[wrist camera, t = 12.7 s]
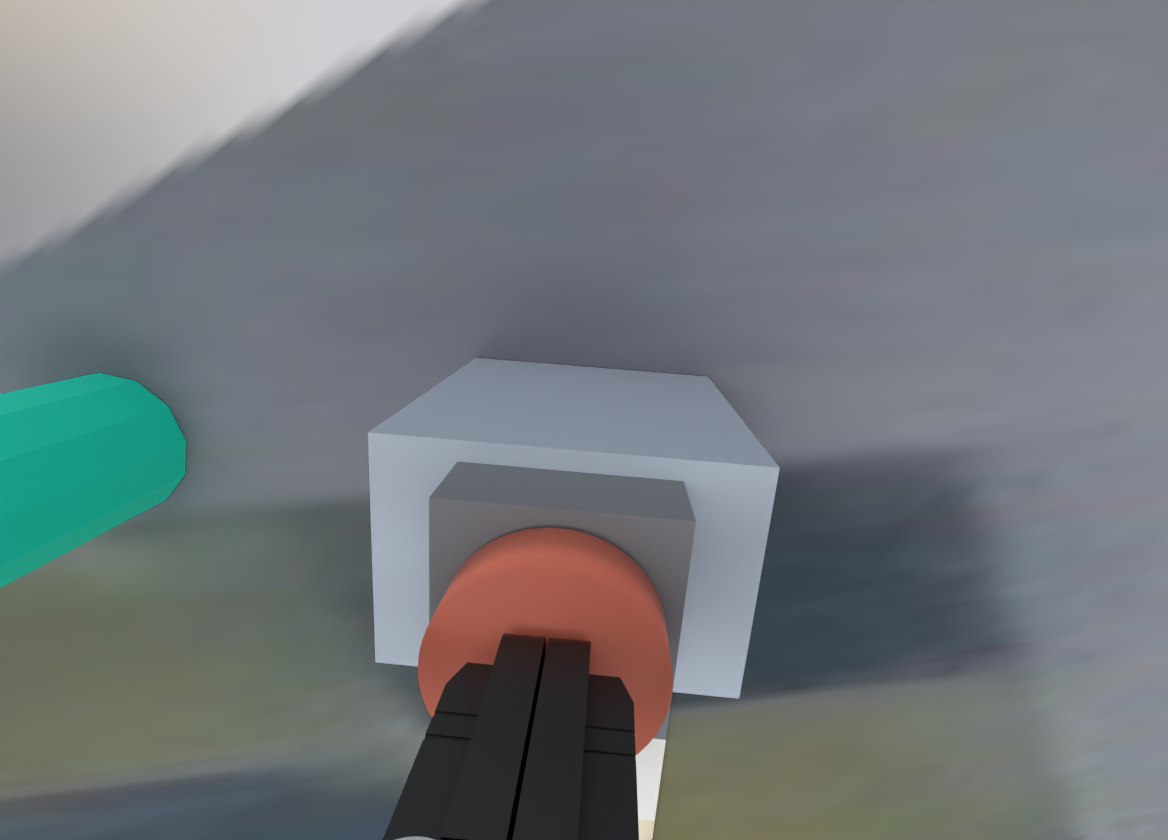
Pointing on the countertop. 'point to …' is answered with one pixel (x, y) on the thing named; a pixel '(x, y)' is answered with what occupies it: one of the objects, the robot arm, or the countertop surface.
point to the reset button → (555, 615)
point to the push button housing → (576, 497)
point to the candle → (80, 464)
